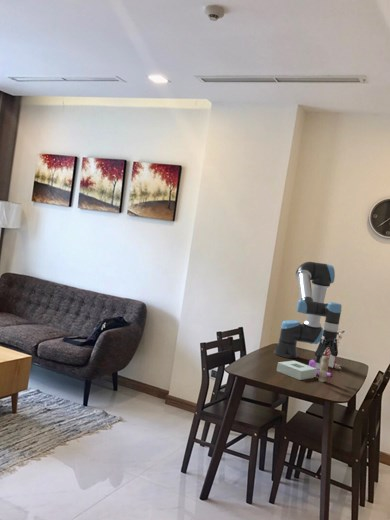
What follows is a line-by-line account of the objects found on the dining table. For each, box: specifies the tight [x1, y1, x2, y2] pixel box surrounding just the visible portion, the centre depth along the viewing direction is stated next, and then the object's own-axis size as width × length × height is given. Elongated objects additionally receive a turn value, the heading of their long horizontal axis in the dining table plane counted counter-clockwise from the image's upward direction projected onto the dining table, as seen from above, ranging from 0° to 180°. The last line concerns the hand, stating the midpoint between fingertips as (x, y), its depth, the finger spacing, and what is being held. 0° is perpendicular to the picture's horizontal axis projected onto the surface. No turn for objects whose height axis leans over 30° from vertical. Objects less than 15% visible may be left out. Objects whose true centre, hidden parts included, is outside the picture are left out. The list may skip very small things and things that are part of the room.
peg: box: [317, 355, 330, 383], centre depth 268 cm, size 4×4×14 cm
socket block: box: [276, 360, 318, 381], centre depth 275 cm, size 16×16×5 cm
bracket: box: [308, 359, 331, 378], centre depth 284 cm, size 13×6×7 cm, turn 79°
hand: (324, 367), depth 268 cm, fingers open, 13 cm apart
